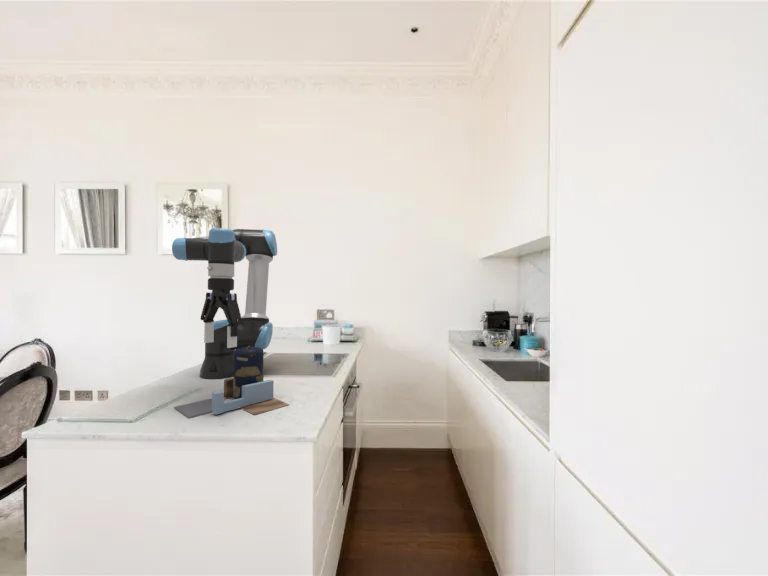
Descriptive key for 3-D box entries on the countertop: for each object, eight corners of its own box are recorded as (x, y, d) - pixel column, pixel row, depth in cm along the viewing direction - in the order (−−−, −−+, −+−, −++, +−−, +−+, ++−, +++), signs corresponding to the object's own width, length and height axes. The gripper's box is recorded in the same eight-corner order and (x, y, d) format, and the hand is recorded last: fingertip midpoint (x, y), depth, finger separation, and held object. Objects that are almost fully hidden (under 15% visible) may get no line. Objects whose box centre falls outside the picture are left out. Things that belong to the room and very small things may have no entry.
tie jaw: (211, 412, 101) (211, 392, 101) (270, 397, 115) (270, 379, 115) (215, 414, 99) (215, 394, 99) (274, 398, 114) (274, 381, 114)
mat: (173, 408, 105) (173, 406, 105) (213, 398, 114) (213, 397, 114) (188, 418, 97) (188, 417, 97) (230, 407, 106) (230, 406, 106)
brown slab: (220, 397, 115) (221, 380, 115) (254, 390, 124) (254, 373, 124) (254, 415, 101) (254, 395, 101) (289, 405, 110) (289, 386, 110)
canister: (267, 394, 119) (268, 343, 119) (255, 404, 110) (255, 348, 110) (242, 393, 120) (242, 342, 120) (227, 402, 111) (227, 347, 111)
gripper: (189, 277, 112) (188, 341, 112) (231, 277, 97) (230, 351, 97) (212, 278, 118) (211, 339, 118) (255, 278, 103) (254, 347, 103)
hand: (220, 344), depth 107 cm, fingers open, 13 cm apart
